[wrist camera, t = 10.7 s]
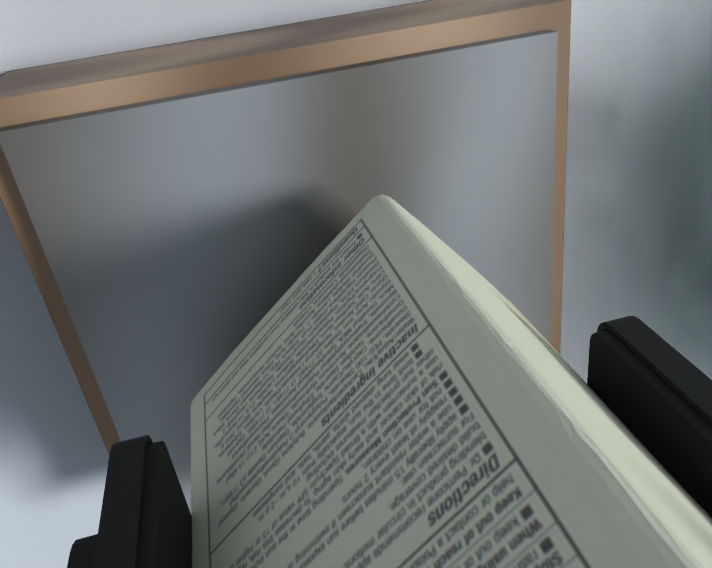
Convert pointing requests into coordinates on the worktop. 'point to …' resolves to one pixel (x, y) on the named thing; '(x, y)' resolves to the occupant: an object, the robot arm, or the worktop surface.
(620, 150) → the worktop surface
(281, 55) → the plinth
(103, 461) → the worktop surface
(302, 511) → the skincare box
